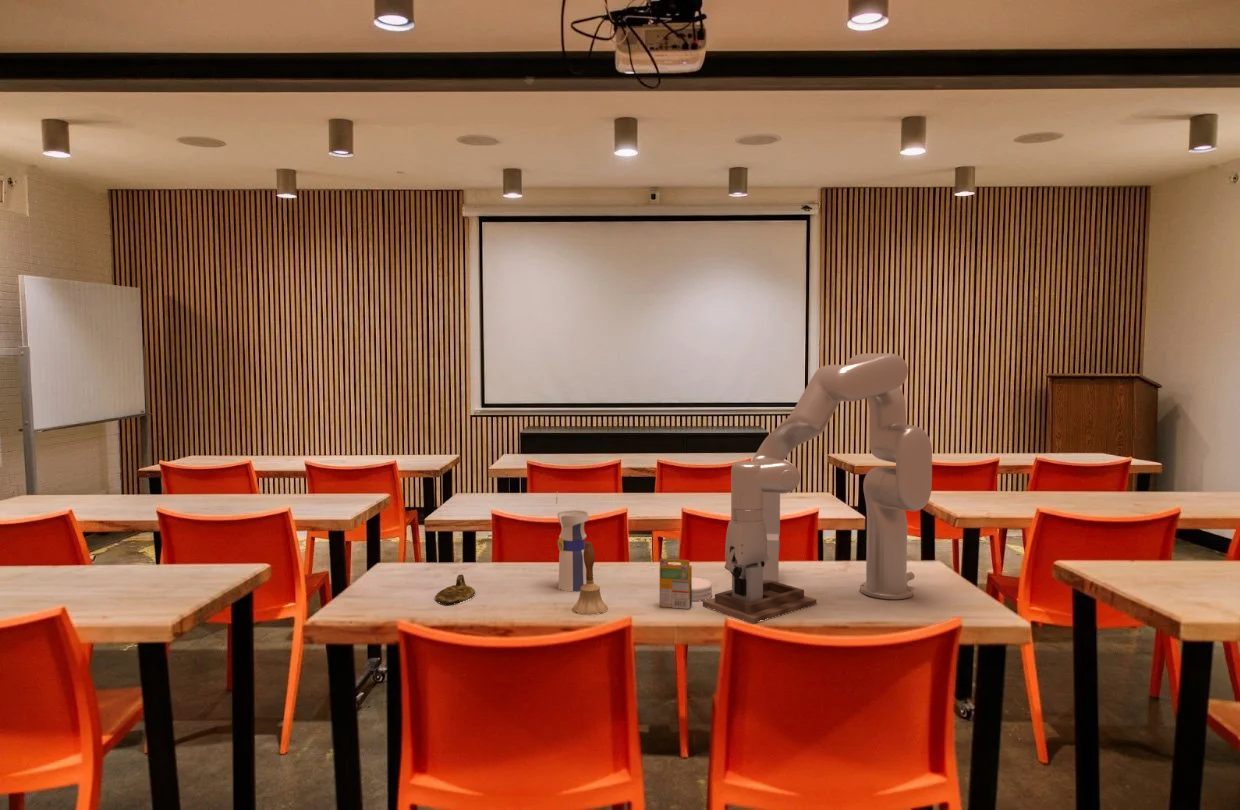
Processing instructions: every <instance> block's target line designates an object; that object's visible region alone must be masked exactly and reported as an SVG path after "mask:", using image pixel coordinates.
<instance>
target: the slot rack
mask: <svg viewBox="0 0 1240 810" xmlns="http://www.w3.org/2000/svg"><path fill="white" fill-rule="evenodd" d="M814 604H816V605H818V603H817V598H813V597H810V596H806V595H805V589H802V588H799V587H795V586H792V585H789V584H786V583H781V582H779V581H778V582H775V581H771V580H767V581H763V599H760V600H757V601H753V602H750V603H749V602H746V601H743V600H740V599H737V598H734V597H732V589H730V590H725V591H721V592H717V593H714V598H709V599H707V600H703V601H702V607H704V606H705V607H704V608H707V607H709V608H711V609H710V610H712V609H715V610H717V611H716V612H718V611H720V612H719V613H721V612H722V614H725V615H727V614H728V616H730V615H731V617H732V618H733V617H734V618H735V619H736V618H737V619H739V620H742V621H745V622H748V623H750V622H751V623H750V624H753V623H755V624H758V623H759V622H758V621H760V620H764V621H766V620H765V619H767V618H771V619H773V618H772V617H774V618H776V617H775V616H777V617H779V616H778V615H780V616H783V615H782V614H784V615H786V614H785V613H787V614H789V613H788V612H790V613H792V612H791V611H793V612H795V611H794V610H797V611H799V610H798V609H800V610H802V609H801V608H803V609H805V608H804V607H806V608H809V607H812V606H811V605H813V606H815V605H814ZM808 606H809V607H808ZM709 608H708V609H709ZM715 610H714V611H715ZM743 619H744V620H743ZM757 622H758V623H757Z"/></svg>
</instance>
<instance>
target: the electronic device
mask: <svg viewBox="0 0 1240 810" xmlns="http://www.w3.org/2000/svg"><path fill="white" fill-rule="evenodd" d="M764 510H765V511H764V520H765V525H766V533H767V554H768V556H769V560H768V561H767V562H766V563H765V565H764V567H763V581H767V580H771V581H775V582H778V583H779V557H780V556H779V555H780V554H779V553H780V551H781V550H780V548H781V547H780V546H781V542H780V538H779V537H781V536H780V535H781V533H780V532H781V527H780V526H781V493H770V492H765V493H764ZM754 565H755V564H754Z"/></svg>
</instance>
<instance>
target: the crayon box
mask: <svg viewBox="0 0 1240 810" xmlns="http://www.w3.org/2000/svg"><path fill="white" fill-rule="evenodd" d="M674 562H675V563H680V564H673V563H674ZM669 563H670V564H669ZM671 563H672V564H671ZM692 567H693V566H692V565H690V559H676V558H673V559H672V558H659V608H671V607H672V608H671V609H673V608H674V609H686V610H690V609H691V607H692V606H693V601H692V578H693V576H692V574H693V573H692V569H693V568H692Z"/></svg>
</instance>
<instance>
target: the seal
mask: <svg viewBox="0 0 1240 810" xmlns="http://www.w3.org/2000/svg"><path fill="white" fill-rule="evenodd" d="M474 594H475V595H476V591H475V589H474V588H473V587H472V586H470V585H468V584H466V580H465V576H464V574H458V575H457V576H456V580H455V585H454V584H453V585H451V586H448V587H445V588H443V589H441V590H440V591H438V592H437V593H436V595H435V596H434V600H435V599H436V600H437V601H438V602H440V603H442V604H447V605H446V606H449V605H448V604H453V605H455V604H454V603H460V602H463V601H466V600H468V599H470V598H472V597H473V596H474ZM474 597H475V596H474ZM474 597H473V598H474ZM473 598H472V599H473ZM436 600H435V601H436ZM437 601H436V602H437ZM438 602H437V603H438ZM442 604H441V605H442Z"/></svg>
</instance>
